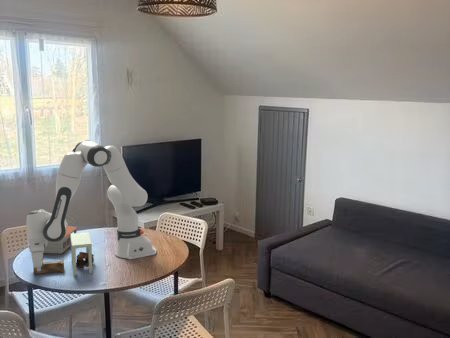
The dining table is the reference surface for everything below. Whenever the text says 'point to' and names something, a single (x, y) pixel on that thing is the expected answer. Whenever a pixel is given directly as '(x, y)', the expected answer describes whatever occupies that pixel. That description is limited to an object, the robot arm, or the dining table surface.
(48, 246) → the model house
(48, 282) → the dining table surface
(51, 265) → the push stick
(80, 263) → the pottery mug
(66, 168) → the robot arm
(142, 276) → the dining table surface
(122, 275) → the dining table surface
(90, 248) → the footstool
